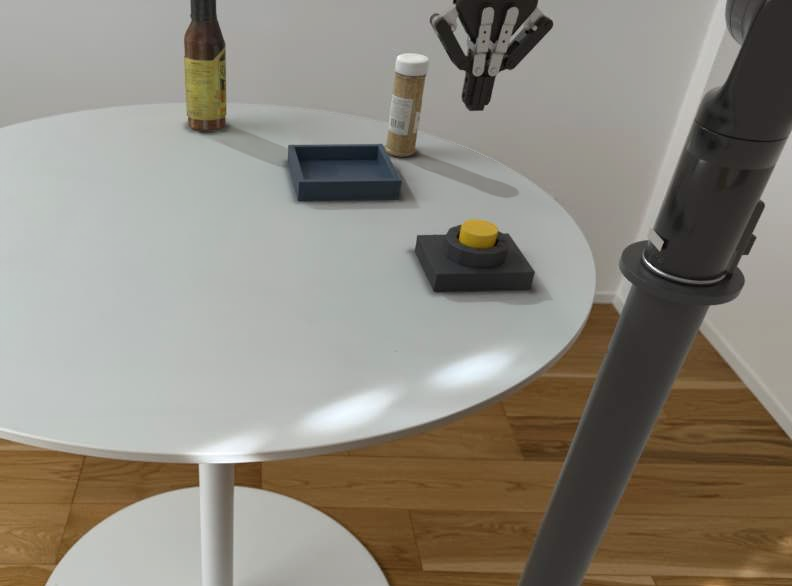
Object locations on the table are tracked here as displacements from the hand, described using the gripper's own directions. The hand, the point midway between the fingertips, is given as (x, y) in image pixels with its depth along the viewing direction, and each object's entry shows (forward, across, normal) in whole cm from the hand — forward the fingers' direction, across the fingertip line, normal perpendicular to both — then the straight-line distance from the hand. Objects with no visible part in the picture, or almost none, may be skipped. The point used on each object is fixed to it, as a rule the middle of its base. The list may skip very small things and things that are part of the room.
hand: (474, 108), depth 86 cm
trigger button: (+12, 0, -8) cm, 14 cm away
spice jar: (+16, 0, +27) cm, 31 cm away
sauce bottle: (+16, -28, +39) cm, 50 cm away
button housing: (+16, 0, -8) cm, 18 cm away
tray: (+16, -10, +17) cm, 26 cm away
